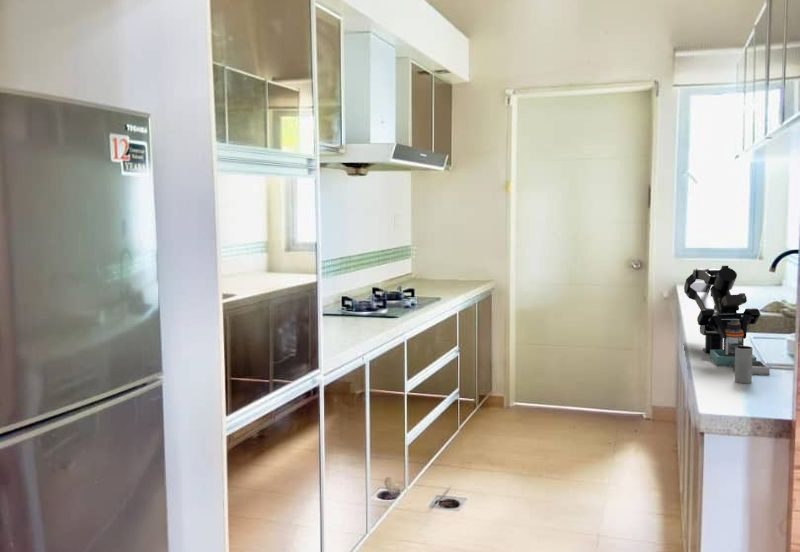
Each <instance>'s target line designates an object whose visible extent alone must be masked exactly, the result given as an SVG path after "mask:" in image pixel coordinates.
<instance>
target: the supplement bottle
mask: <svg viewBox="0 0 800 552" xmlns="http://www.w3.org/2000/svg"><path fill="white" fill-rule="evenodd" d="M740 327H741V324H740V322H738V321H737V322H736V321H730V322H728V323H727V329H725V333H726V337H727V338H726V339H724V338H723V350H724V356H726V357H735V347H736V346H745V345H744V341H745V339H744V332H743V330H741V328H740Z"/></svg>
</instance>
